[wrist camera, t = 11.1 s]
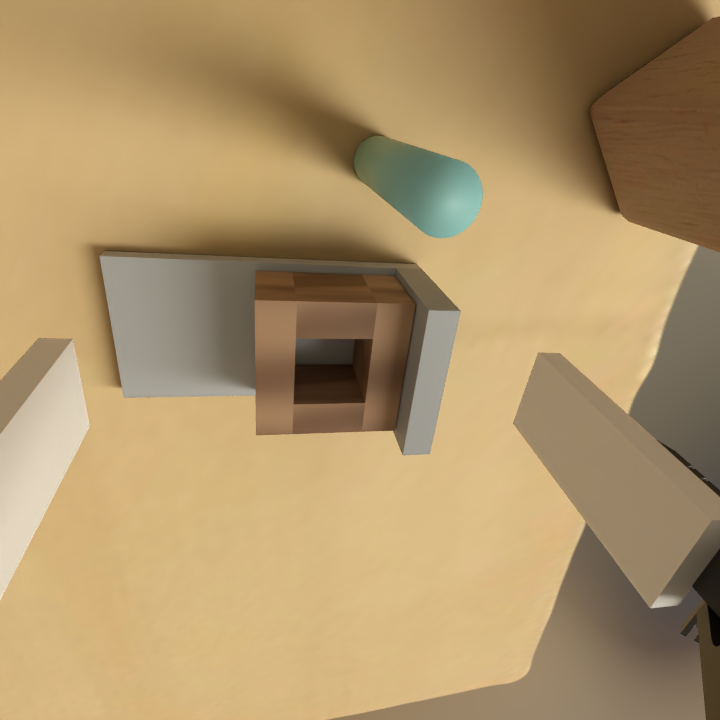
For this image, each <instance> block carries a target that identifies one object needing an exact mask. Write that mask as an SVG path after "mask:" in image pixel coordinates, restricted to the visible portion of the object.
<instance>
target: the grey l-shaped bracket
mask: <svg viewBox="0 0 720 720" xmlns="http://www.w3.org/2000/svg"><path fill="white" fill-rule="evenodd" d="M100 262H101V268H102V274H103V280H104V286H105V291H106V297H107V303H108V309H109V315H110V321H111V326H112V332H113V338H114V344H115V350H116V356H117V362H118V367H119V373H120V379H121V385H122V391H123V397H124V398H136V397H195V396H253V395H256V383H255V276H256V271H278V272H306V273H333V274H361V275H388V276H395V277H396V278H397V280H398V281H399V282H400V284H401V285H402V286H403V288H404V289H405V290H406V292H407V293H408V294H409V296H410V297H411V298H412V300H413V301H414V302H415V304H416V306H415V312H414V318H413V324H412V330H411V336H410V342H409V348H408V354H407V360H406V366H405V372H404V378H403V385H402V391H401V397H400V403H399V409H398V415H397V421H396V427H395V430H394V431H393V432H394V434H395V437H396V439H397V442H398V444H399V447H400V449H401V452H402V455H421V454H430V451H431V446H432V442H433V437H434V432H435V428H436V423H437V418H438V414H439V409H440V404H441V400H442V395H443V391H444V386H445V381H446V377H447V372H448V367H449V363H450V358H451V353H452V349H453V344H454V340H455V335H456V330H457V326H458V321H459V316H460V312H461V311H460V310H459V309H458V308H457V307H456V306H455V304H454V303H453V302H452V301H451V300H450V299H449V298H448V297H447V296H446V295H445V294H444V293H443V292H442V290H441V289H440V288H439V287H438V286H437V285H436V284H435V283H434V282H433V281H432V280H431V279H430V278H429V277H428V275H427V274H426V273H425V272H424V271H423V270H422V269H421V268H420V267H419V266H418V265H417V264H404V263H380V262H357V261H333V260H309V259H285V258H262V257H238V256H214V255H191V254H167V253H143V252H120V251H104V252H103V253H102V254H101V255H100ZM354 343H355V339H298V338H296V347H295V365H342V364H352V362H353V353H354Z"/></svg>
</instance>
